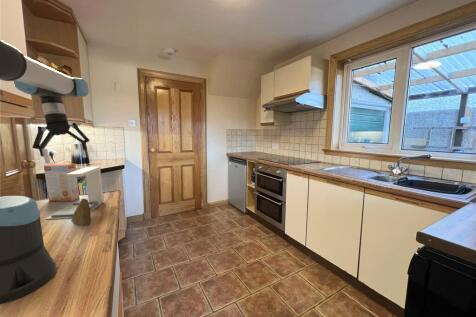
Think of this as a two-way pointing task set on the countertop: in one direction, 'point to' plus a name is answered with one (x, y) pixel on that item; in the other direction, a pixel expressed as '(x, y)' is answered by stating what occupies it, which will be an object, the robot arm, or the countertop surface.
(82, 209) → the rock
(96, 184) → the shelf unit
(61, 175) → the cracker box
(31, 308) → the countertop surface
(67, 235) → the countertop surface
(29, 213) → the robot arm
